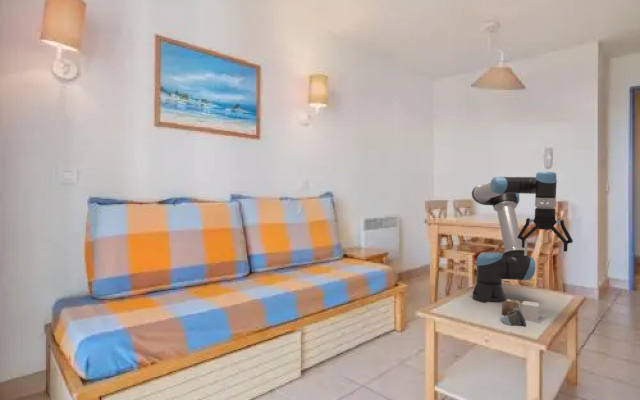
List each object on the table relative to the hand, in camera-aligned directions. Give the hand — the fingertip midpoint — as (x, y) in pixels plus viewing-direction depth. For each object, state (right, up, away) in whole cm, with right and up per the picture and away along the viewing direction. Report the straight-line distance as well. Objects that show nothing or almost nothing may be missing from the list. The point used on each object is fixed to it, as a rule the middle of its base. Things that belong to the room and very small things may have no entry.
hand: (543, 257), depth 159 cm
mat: (-6, -27, 0) cm, 27 cm away
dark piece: (-18, -27, -5) cm, 33 cm away
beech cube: (-8, -26, +9) cm, 29 cm away
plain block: (-6, -26, 0) cm, 27 cm away
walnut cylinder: (-14, -26, +3) cm, 30 cm away
